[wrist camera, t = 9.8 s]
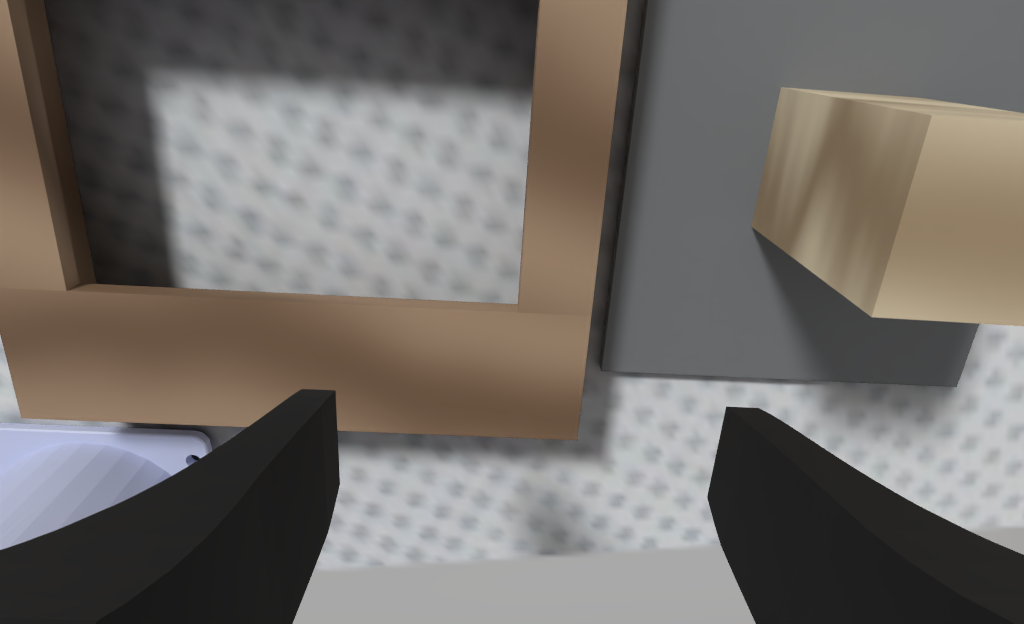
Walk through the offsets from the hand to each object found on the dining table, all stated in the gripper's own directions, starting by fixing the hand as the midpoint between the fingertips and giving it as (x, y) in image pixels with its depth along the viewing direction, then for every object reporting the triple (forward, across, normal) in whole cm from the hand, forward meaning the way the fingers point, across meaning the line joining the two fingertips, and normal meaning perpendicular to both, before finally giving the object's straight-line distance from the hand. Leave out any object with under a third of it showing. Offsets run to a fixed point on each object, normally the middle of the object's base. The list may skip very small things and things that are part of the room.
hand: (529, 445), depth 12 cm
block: (+9, -9, -4) cm, 13 cm away
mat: (+9, -9, -4) cm, 14 cm away
